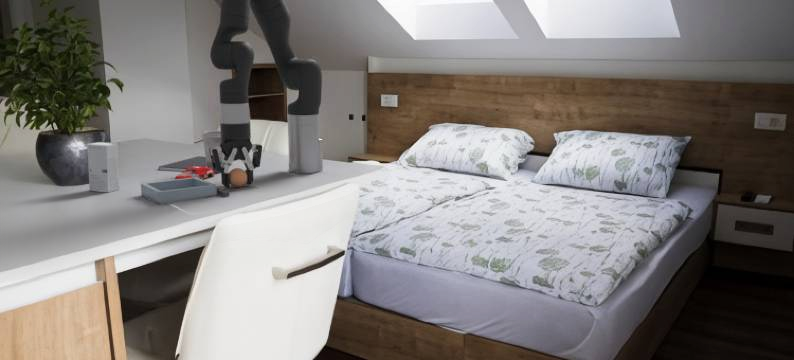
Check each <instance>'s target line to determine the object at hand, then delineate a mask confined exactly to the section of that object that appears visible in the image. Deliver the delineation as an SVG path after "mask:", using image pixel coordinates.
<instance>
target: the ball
mask: <svg viewBox="0 0 794 360" xmlns="http://www.w3.org/2000/svg"><path fill="white" fill-rule="evenodd" d="M228 173H229V181H230V185H232V186H234V187H241V186H243V185H244V184H245V183H246V182H247V174H246V172H245V170H244V169H242V168H239V167H236V168H233V169H231V170H229V171H228Z"/></svg>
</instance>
